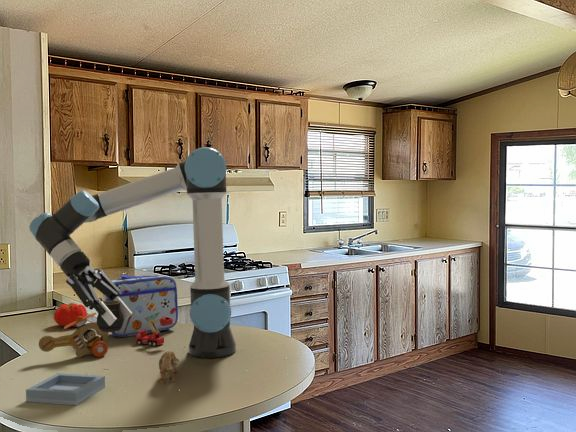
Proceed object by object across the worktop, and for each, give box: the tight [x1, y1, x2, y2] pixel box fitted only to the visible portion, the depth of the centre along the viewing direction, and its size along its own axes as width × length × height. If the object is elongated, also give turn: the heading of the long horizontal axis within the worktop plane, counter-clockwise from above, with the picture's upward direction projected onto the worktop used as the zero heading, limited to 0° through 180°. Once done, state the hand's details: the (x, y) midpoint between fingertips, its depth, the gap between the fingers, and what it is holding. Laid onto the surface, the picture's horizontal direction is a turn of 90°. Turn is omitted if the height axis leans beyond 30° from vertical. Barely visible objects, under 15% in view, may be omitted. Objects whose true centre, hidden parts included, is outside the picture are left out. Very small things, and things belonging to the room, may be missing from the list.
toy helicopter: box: [38, 312, 109, 359], centre depth 175 cm, size 8×21×14 cm, turn 122°
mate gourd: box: [96, 297, 124, 333], centre depth 155 cm, size 7×8×10 cm
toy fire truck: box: [135, 317, 173, 347], centre depth 190 cm, size 3×14×10 cm, turn 68°
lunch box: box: [102, 274, 179, 338], centre depth 206 cm, size 28×10×22 cm, turn 122°
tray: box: [25, 372, 106, 406], centre depth 143 cm, size 14×13×3 cm
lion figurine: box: [158, 350, 180, 384], centre depth 155 cm, size 15×5×9 cm, turn 15°
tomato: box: [53, 302, 88, 328], centre depth 219 cm, size 13×12×8 cm
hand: (121, 319), depth 154 cm, fingers closed on mate gourd, 7 cm apart
